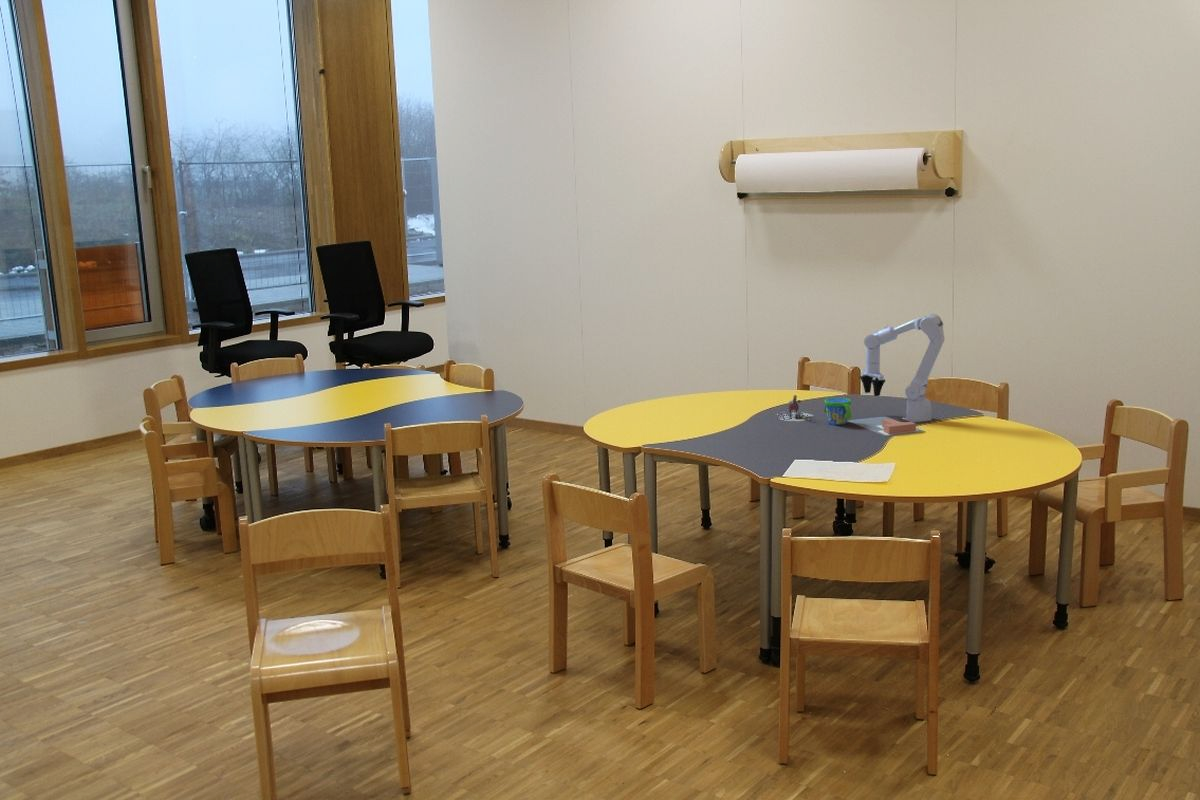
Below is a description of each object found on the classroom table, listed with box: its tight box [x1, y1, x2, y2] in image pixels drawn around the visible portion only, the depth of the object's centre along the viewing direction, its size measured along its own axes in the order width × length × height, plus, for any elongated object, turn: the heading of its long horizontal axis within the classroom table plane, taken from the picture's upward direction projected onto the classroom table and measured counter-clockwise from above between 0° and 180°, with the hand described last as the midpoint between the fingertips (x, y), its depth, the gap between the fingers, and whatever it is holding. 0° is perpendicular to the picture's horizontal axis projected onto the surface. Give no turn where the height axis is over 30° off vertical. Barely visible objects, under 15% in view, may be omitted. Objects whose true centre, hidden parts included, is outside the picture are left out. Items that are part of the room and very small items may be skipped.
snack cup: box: [823, 396, 852, 426], centre depth 464 cm, size 16×10×10 cm
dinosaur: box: [776, 394, 814, 422], centre depth 480 cm, size 18×18×11 cm
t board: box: [847, 416, 926, 438], centre depth 458 cm, size 18×30×1 cm, turn 17°
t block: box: [882, 418, 917, 434], centre depth 450 cm, size 12×12×3 cm
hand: (872, 394), depth 475 cm, fingers open, 7 cm apart
